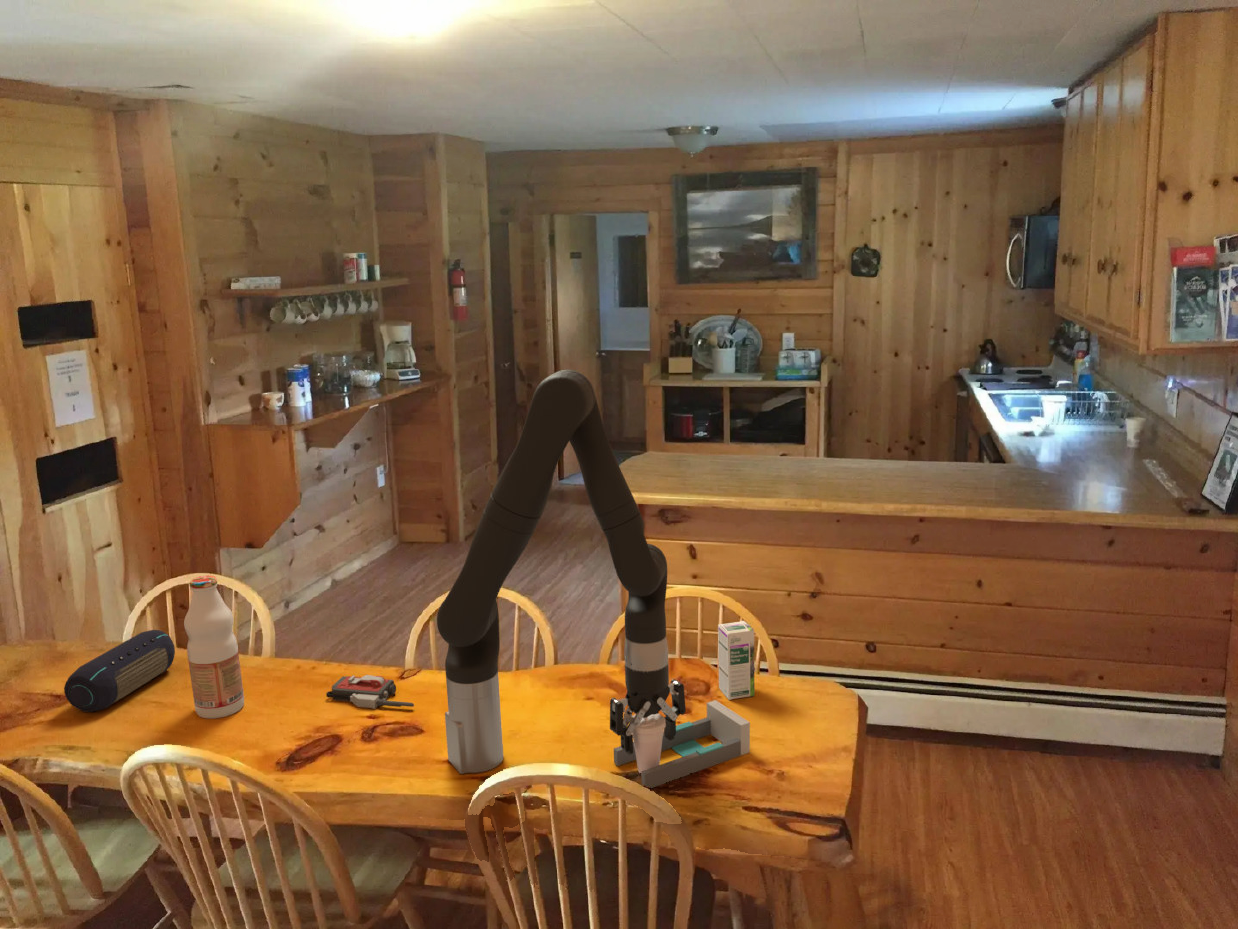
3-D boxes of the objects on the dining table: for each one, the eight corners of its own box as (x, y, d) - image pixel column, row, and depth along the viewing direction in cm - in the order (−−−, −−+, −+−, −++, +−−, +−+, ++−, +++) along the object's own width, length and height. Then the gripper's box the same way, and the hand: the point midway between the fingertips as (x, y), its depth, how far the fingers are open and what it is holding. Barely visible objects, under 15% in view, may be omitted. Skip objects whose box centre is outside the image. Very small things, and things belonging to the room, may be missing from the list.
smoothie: (624, 774, 176) (622, 701, 173) (640, 757, 182) (638, 686, 178) (657, 783, 173) (655, 709, 170) (672, 765, 179) (671, 693, 175)
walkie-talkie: (321, 706, 205) (411, 714, 201) (318, 686, 204) (410, 694, 200) (341, 686, 214) (429, 694, 209) (339, 667, 212) (427, 674, 208)
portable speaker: (103, 721, 201) (95, 675, 199) (62, 716, 204) (54, 670, 201) (186, 667, 224) (180, 626, 222) (148, 663, 227) (142, 622, 225)
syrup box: (728, 701, 202) (728, 633, 198) (717, 688, 207) (717, 622, 204) (754, 696, 203) (755, 630, 200) (743, 684, 209) (743, 619, 205)
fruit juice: (194, 723, 199) (176, 590, 192) (196, 703, 207) (178, 575, 201) (245, 714, 202) (228, 583, 195) (245, 694, 210) (228, 568, 204)
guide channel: (645, 790, 171) (644, 759, 170) (613, 763, 180) (612, 733, 179) (749, 752, 182) (750, 722, 181) (715, 728, 191) (715, 699, 190)
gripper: (622, 678, 166) (625, 766, 170) (693, 657, 173) (694, 742, 177) (599, 662, 172) (603, 748, 176) (668, 642, 179) (670, 725, 183)
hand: (649, 745), depth 176 cm, fingers open, 8 cm apart
